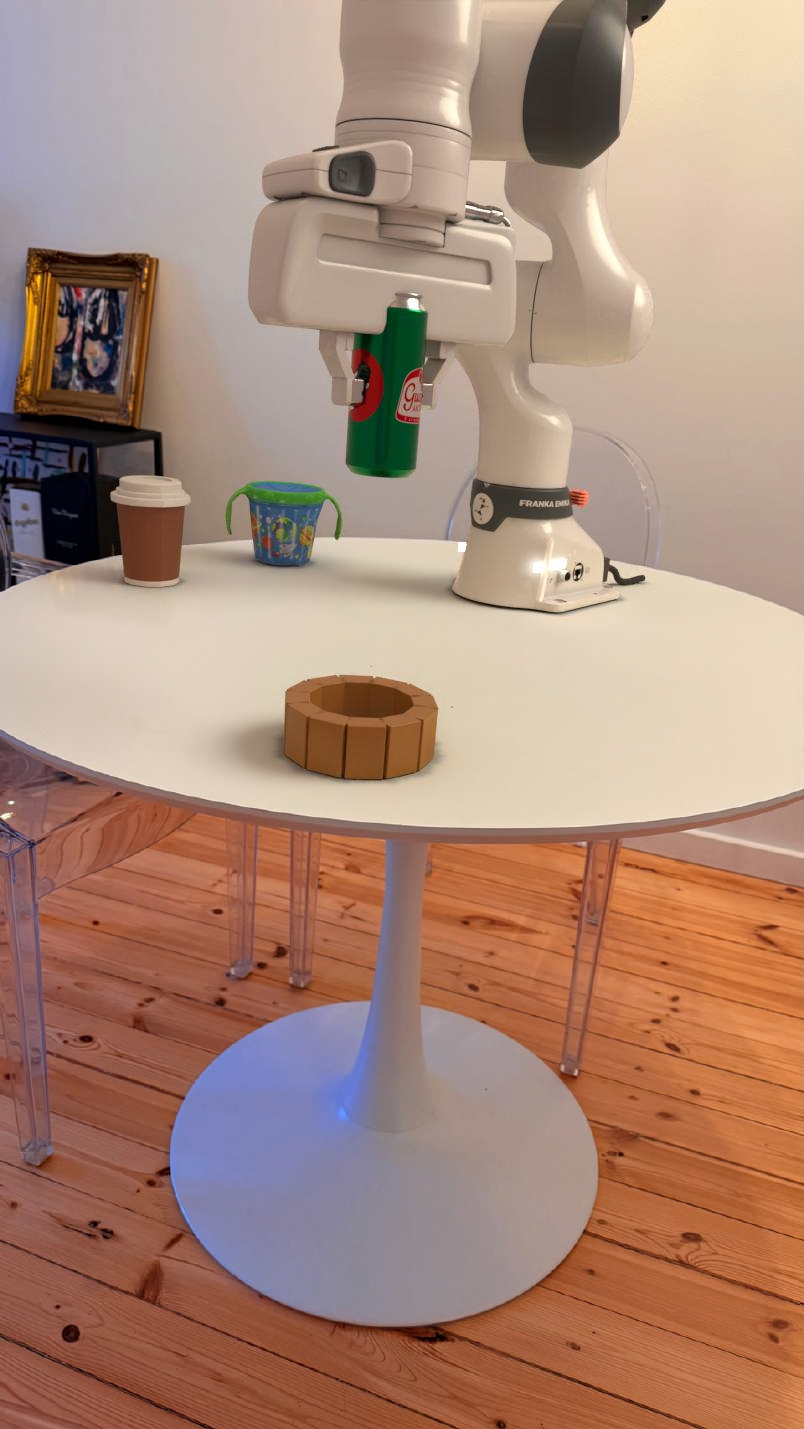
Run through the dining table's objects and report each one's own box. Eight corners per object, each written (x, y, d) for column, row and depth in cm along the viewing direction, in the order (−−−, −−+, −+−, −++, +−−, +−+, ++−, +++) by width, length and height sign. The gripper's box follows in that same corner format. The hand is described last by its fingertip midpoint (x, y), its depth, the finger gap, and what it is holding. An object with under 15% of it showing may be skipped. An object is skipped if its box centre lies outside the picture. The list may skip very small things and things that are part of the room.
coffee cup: (97, 583, 116) (94, 479, 112) (135, 569, 124) (133, 471, 120) (169, 593, 114) (169, 488, 110) (202, 578, 123) (203, 479, 119)
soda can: (407, 481, 68) (422, 292, 64) (336, 473, 69) (347, 287, 65) (421, 474, 73) (435, 298, 69) (354, 467, 74) (365, 293, 70)
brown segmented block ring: (376, 713, 82) (379, 668, 81) (462, 762, 74) (467, 711, 72) (256, 735, 76) (257, 686, 74) (335, 791, 67) (338, 736, 66)
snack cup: (338, 556, 141) (342, 484, 138) (341, 573, 131) (346, 495, 128) (227, 550, 139) (228, 477, 136) (222, 566, 129) (223, 488, 126)
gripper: (487, 213, 73) (468, 409, 78) (238, 163, 61) (234, 397, 66) (547, 208, 68) (523, 416, 73) (290, 152, 56) (281, 405, 61)
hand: (384, 407), depth 69 cm, fingers closed on soda can, 5 cm apart
